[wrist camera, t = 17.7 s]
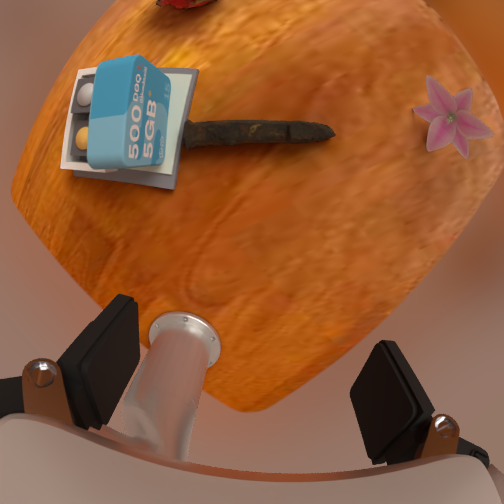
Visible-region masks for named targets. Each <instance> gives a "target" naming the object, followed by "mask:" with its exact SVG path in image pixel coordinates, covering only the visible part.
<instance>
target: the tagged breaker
mask: <svg viewBox="0 0 504 504" xmlns="http://www.w3.org/2000/svg"><path fill="white" fill-rule="evenodd" d="M88 125H89V120H88V121H75V126H74V132H73V139H72V146H71V154H70V155H74V156H87V139H88Z"/></svg>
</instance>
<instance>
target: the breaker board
mask: <svg viewBox="0 0 504 504" xmlns="http://www.w3.org/2000/svg"><path fill="white" fill-rule="evenodd" d="M96 69H97V67H94V68H87V69H80V70H78V74H77V78H76V81H75V85H74V89H73V93H72V97H71V102H70V107H69V111H68V117H67V122H66V128H65V134H64V141H63V149H62V157H61V167H60V169H72V170H74V172H73V176H76V177H86V178H94V179H103V180H111V181H118V182H126V183H133V184H140V185H147V186H154V187H160V188H166V189H175V188H176V182H177V175H178V169H179V163H180V157H181V152H182V146H183V141H184V140H183V130H184V123H185V121H186V120H188V116H189V112H190V107H191V103H192V98H193V94H194V90H195V86H196V82H197V78H198V74H199V70H198V69H189V68H158V69H159V70H160V71H161V72H163V73H164V74H165V75H166V76H168V77H169V79H170V82H171V93H170V102H169V112H168V123H167V135H166V150H165V158H164V161H163V163H162V164H161V165H157V166H146V167H137V168H126V169H100V170H94V169H92V168H91V167H90V166H89V164H88V161H87V156H74V155H70V154H71V146H72V139H73V132H74V126H75V121H88V120H89V115H80V114H73V113H71V108H72V103H73V98H74V94H75V90H76V86H77V82H78V79H82V78H90V77H95V73H96Z"/></svg>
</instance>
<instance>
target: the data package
mask: <svg viewBox="0 0 504 504" xmlns="http://www.w3.org/2000/svg"><path fill="white" fill-rule="evenodd" d="M170 93H171V82H170V79H169V77H168V76H166V75H165V74H164V73H163V72H161V71H160V70H159V69H158V68H156V67H155V66H154V65H153V64H151V63H150V62H149V61H148V60H146V59H145V58H144V57H142V56H141V55H132V56H127V57H122V58H117V59H112V60H108V61H104V62H102V63H100V64H99V65H98V67H97V69H96V73H95V78H94V84H93V91H92V98H91V106H90V115H89V125H88V139H87V161H88V164H89V166H90V167H91V168H92V169H94V170H100V169H126V168H137V167H146V166H157V165H161V164H162V163H163V161H164V158H165V150H166V135H167V123H168V112H169V102H170Z"/></svg>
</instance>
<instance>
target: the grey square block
mask: <svg viewBox="0 0 504 504" xmlns="http://www.w3.org/2000/svg"><path fill="white" fill-rule="evenodd" d="M94 78H95V77H90V78H82V79H78V82H77V86H76V90H75V94H74V98H73V103H72V108H71V113H73V114H80V115H90V106H91V98H92V91H93V84H94Z"/></svg>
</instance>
